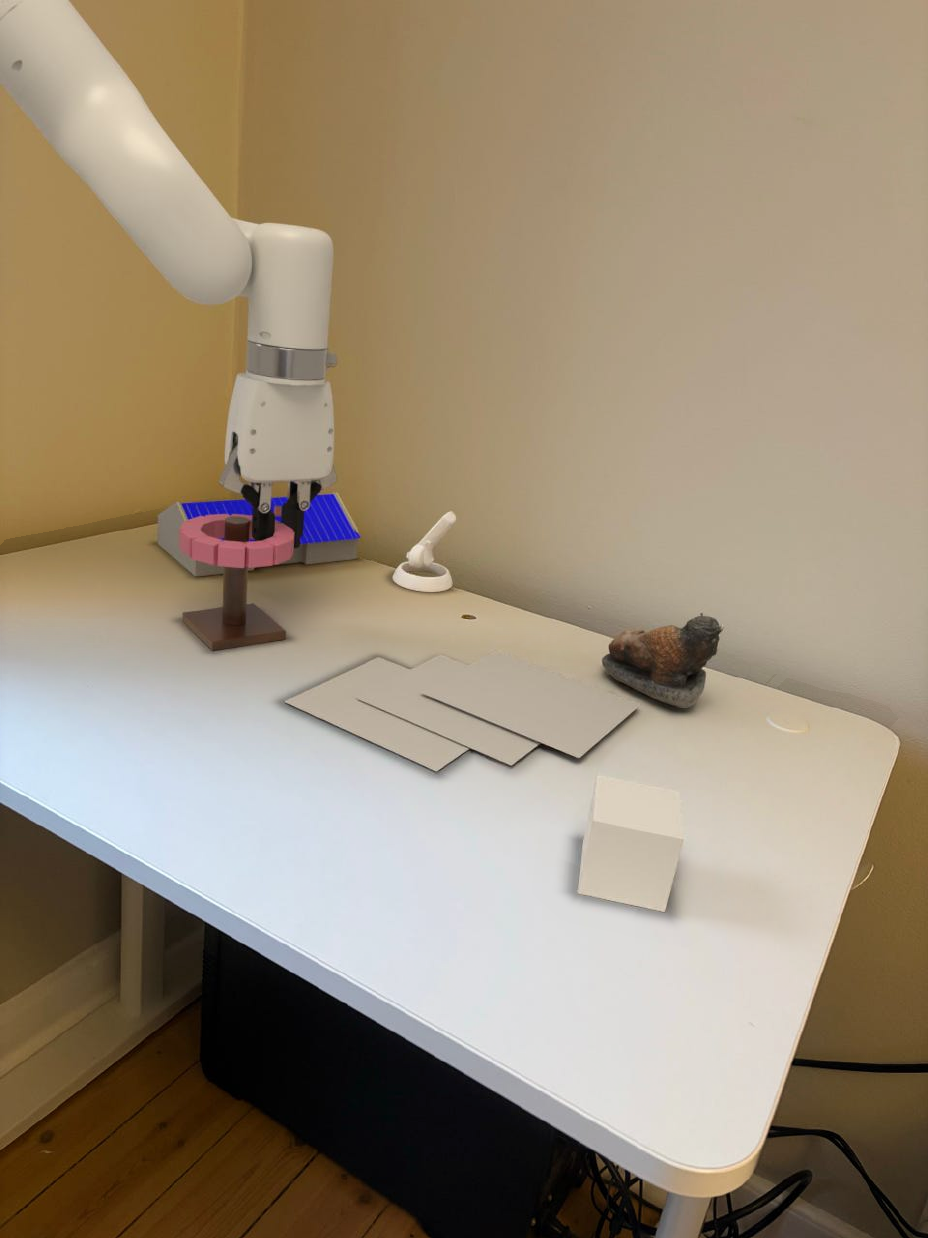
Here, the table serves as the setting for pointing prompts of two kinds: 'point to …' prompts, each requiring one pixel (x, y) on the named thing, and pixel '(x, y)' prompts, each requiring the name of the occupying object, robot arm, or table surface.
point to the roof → (323, 526)
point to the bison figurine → (665, 659)
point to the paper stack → (466, 708)
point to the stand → (234, 606)
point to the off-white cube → (631, 843)
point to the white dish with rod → (426, 561)
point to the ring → (233, 543)
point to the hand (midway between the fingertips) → (276, 543)
